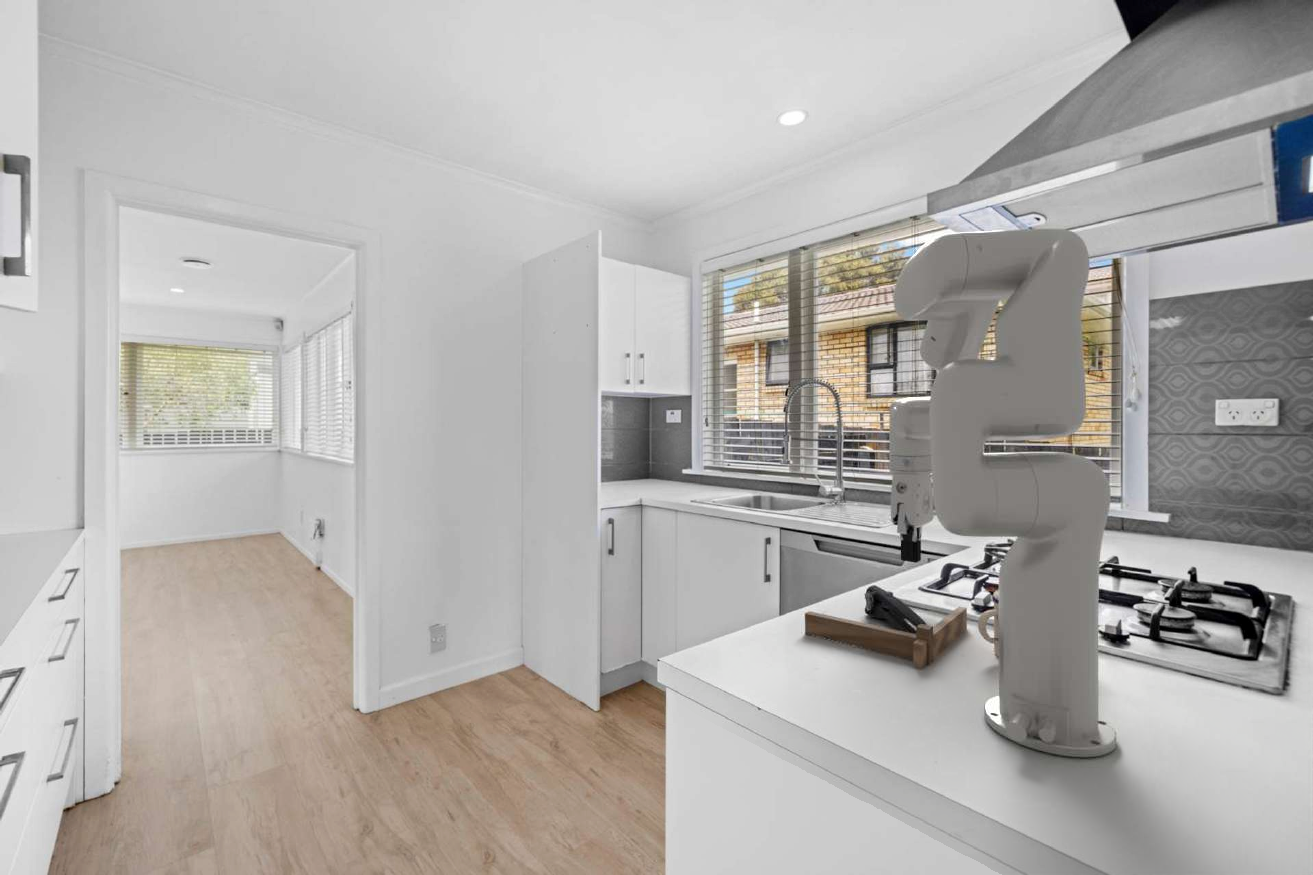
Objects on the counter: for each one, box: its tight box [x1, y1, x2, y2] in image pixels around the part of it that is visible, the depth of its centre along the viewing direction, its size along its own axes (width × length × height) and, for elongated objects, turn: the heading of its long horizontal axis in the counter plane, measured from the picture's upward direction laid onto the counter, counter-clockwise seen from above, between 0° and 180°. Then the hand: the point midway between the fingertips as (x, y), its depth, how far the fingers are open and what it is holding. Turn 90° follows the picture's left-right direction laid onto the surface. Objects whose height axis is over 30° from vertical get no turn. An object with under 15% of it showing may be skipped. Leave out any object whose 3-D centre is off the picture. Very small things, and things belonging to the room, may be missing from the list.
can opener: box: [864, 584, 928, 634], centre depth 103 cm, size 18×7×6 cm, turn 4°
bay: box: [804, 606, 968, 670], centre depth 100 cm, size 22×20×5 cm
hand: (910, 560), depth 114 cm, fingers closed
